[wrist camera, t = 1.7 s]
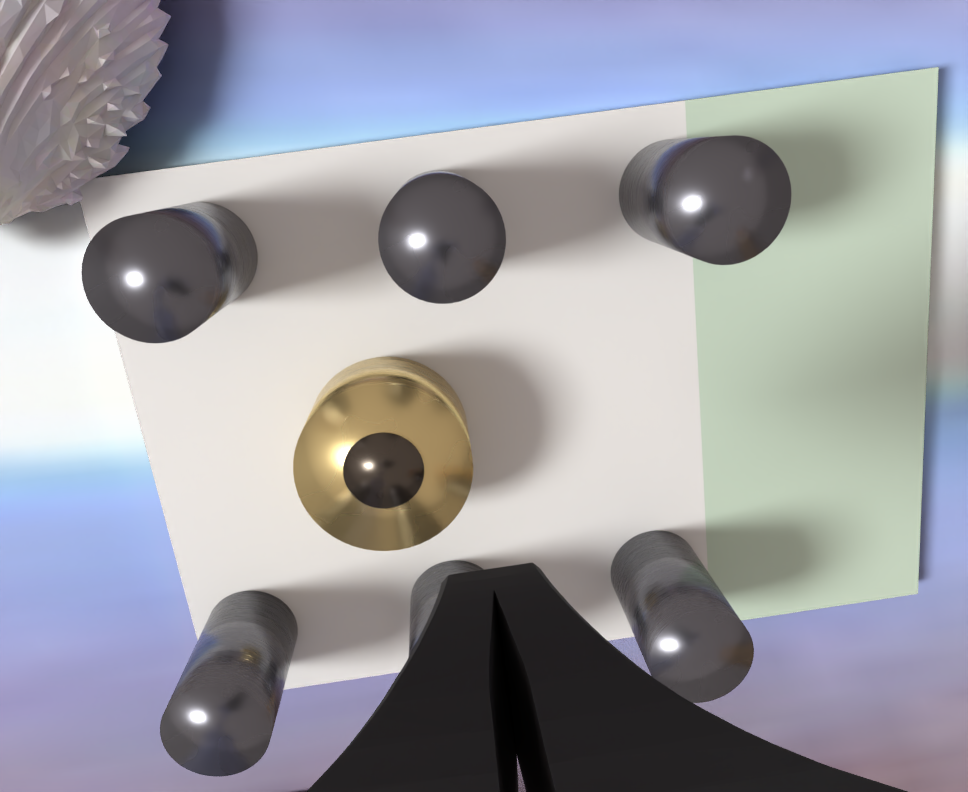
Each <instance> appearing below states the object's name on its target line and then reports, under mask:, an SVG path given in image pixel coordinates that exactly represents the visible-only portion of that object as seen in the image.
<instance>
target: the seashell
mask: <svg viewBox="0 0 968 792" xmlns="http://www.w3.org/2000/svg"><path fill="white" fill-rule="evenodd" d="M160 1H161V0H0V225H2V224H8V223H11V222H12V221H13V220H14V219H15V218H17V217H20V216H22V215H24V214H26V213H29V212H31V211H34V212H44V211H46V210H49V209H51V208H53V207H56V206H59V205H63V204H68V205H70V206H71V205H73V204H75V203H77V202H79V201H80V200H82V199H83V196H82V194H81V191H80V188H79V187H80V186H82V185H83V184H85V183H87V182H88V181H90V180H92V179H94V178H95V177H97V176H99V175H101V174H102V173H104V172H106V171H108V170H109V169H111V168H113V167H115V166H116V165H117V164H118V162H119V161H120V160H121V159H122V158H123V157H124V156H125V154H126V153H127V152H128V150H129V148H130V147H127V146H123V145H120V144H118V143H119V141H120V140H121V138H122V136H127V134H126V132H125V131H127V130H128V129H130V128H131V127H133V126H134V125H136V124H138V123H139V122H141V121H142V120H144V119H145V117H146V115H147V114H148V112H149V110H150V108H151V107H150V106H148V105H147V104H146V103H145V102H143V100H144V99H145V97H146V96H147V95H148V93H149V92H150V91H151V89H152V88H153V87H154V85H155V84H156V83H157V81H158V80H159V79H160V78H161V76H162V75H161V73H160V72H159V70H158V68H157V66H158V65H159V63H160V61H161V60H162V58H163V56H164V54H165V52H166V50H167V47H168V45H169V44H167V43H165V42H163V41H162V40H160V39H159V38H160V36H161V34H162V33H163V31H164V29H165V27H166V25H167V23H168V21H169V20H170V18H171V16H170V15H169V14H167V13H165V12H164V11H162V10H160V9H159V8H158V6H159V3H160Z"/></svg>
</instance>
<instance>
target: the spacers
mask: <svg viewBox="0 0 968 792" xmlns="http://www.w3.org/2000/svg"><path fill="white" fill-rule="evenodd" d="M791 194H792V193H791V183H790V178H789V175H788V172H787V169H786V167H785V165H784V163H783V162H782V160H781V159H780V157H779V156H778V155H777V154H776V153H775V152H774V150H773V149H771V148H770V147H769V146H767V145H766V144H764V143H763V142H761V141H759V140H756V139H754V138H751V137H746V136H739V135H732V136H715V137H699V138H682V139H666V140H661V141H657V142H654V143H652V144H650V145H648V146H646V147H645V148H643V149H642V150H640V151H639V152H638V153H637V154H636V155H635V156H634V157H633V158H632V159H631V161H630V162H629V163H628V165H627V167H626V169H625V170H624V173H623V175H622V178H621V182H620V187H619V203H620V208H621V211H622V214H623V216H624V219H625V220H626V222H627V224H628V225H629V226H630V227H631V229H632V230H633V231H635V232H636V233H637V234H638V235H640V236H641V237H643V238H645V239H647V240H649V241H652V242H654V243H657V244H660V245H662V246H665V247H667V248H670V249H673V250H675V251H678V252H680V253H683V254H685V255H688V256H691V257H693V258H696V259H698V260H701V261H704V262H707V263H710V264H715V265H733V264H737V263H741V262H744V261H747V260H749V259H751V258H753V257H755V256H757V255H758V254H760V253H761V252H763V251H764V250H765V249H766V248H768V247H769V246H770V245H771V244H772V242H773V241H774V240H775V239H776V238H777V236H778V235H779V234H780V232H781V230H782V228H783V227H784V225H785V222H786V220H787V217H788V214H789V211H790V205H791ZM378 244H379V251H380V256H381V259H382V262H383V265H384V267H385V269H386V270H387V272H388V274H389V275H390V277H391V278H392V280H393V281H394V282H395V283H396V284H397V285H398V286H399V287H400V288H401V289H402V290H404V291H405V292H406V293H408V294H410V295H411V296H413V297H415V298H417V299H419V300H422V301H425V302H430V303H435V304H449V303H455V302H460V301H463V300H466V299H468V298H470V297H472V296H474V295H476V294H477V293H479V292H480V291H481V290H483V289H484V288H485V287H486V286H487V285H488V284H489V283H490V282H491V281H492V279H493V278H494V277H495V275H496V274H497V272H498V270H499V268H500V266H501V264H502V261H503V258H504V253H505V248H506V231H505V226H504V222H503V219H502V216H501V213H500V211H499V209H498V207H497V206H496V204H495V203H494V201H493V200H492V199H491V197H490V196H489V195H488V194H487V193H486V192H485V191H484V190H483V189H482V188H480V187H479V186H477V185H476V184H474V183H473V182H471V181H469V180H468V179H466V178H465V177H463V176H461V175H459V174H456V173H453V172H449V171H443V170H433V171H427V172H423V173H421V174H418V175H416V176H414V177H412V178H411V179H409V180H408V181H407V182H406V183H404V184H403V185H402V186H401V188H400V189H399V190H398V191H397V193H396V194H395V195H394V196H393V198H392V199H391V200H390V202H389V204H388V205H387V207H386V209H385V211H384V213H383V215H382V218H381V222H380V226H379V232H378ZM257 264H258V253H257V247H256V243H255V240H254V238H253V235H252V233H251V231H250V230H249V228H248V227H247V225H246V224H245V223H244V222H243V221H242V220H241V219H240V217H238V216H237V215H236V214H235V213H233V212H232V211H230V210H229V209H227V208H225V207H223V206H220V205H217V204H214V203H209V202H192V203H187V204H182V205H178V206H173V207H168V208H163V209H158V210H154V211H149V212H144V213H139V214H134V215H130V216H125V217H122V218H119V219H116V220H114V221H112V222H110V223H108V224H107V225H106V226H104V227H103V228H102V229H100V230H99V231H98V232H97V233H96V234H95V236H94V237H93V238H92V240H91V241H90V243H89V245H88V247H87V249H86V252H85V254H84V258H83V263H82V281H83V286H84V290H85V293H86V296H87V299H88V301H89V303H90V305H91V306H92V308H93V309H94V311H95V312H96V314H97V315H98V316H99V317H100V318H101V320H102V321H103V322H105V323H106V324H107V325H108V326H109V327H110V328H112V329H113V330H114V331H116V332H118V333H119V334H121V335H123V336H125V337H127V338H130V339H132V340H136V341H139V342H145V343H166V342H171V341H175V340H178V339H181V338H183V337H185V336H187V335H188V334H190V333H191V332H193V331H194V330H195V329H197V328H198V327H199V326H201V325H202V324H203V323H205V322H206V321H207V320H208V319H210V318H211V317H212V316H214V315H215V314H216V313H218V312H219V311H220V310H222V309H223V308H224V307H226V306H227V305H228V304H229V303H231V302H232V301H233V300H235V299H236V298H237V297H239V296H240V295H241V294H242V293H243V292H244V291H245V290H246V289H247V288H248V287H249V286H250V284H251V282H252V281H253V278H254V276H255V273H256V270H257ZM478 570H484V569H483V568H481V567H480V566H478V565H476V564H473V563H471V562H467V561H461V560H451V561H445V562H441V563H438V564H436V565H434V566H432V567H430V568H429V569H427V570H426V571H425V572H423V573H422V574H421V576H420V577H419V578H418V579H417V581H416V582H415V584H414V586H413V589H412V592H411V600H410V629H409V656H410V654H411V652H412V650H413V648H414V646H415V644H416V642H417V641H418V639H419V637H420V635H421V633H422V631H423V629H424V627H425V625H426V623H427V620H428V618H429V616H430V614H431V611H432V609H433V607H434V604H435V602H436V599H437V596H438V594H439V591H440V587H441V583H442V582H443V581H444V580H445V578H446V577H447V576H448V575H451V574H458V573H465V572H471V571H478ZM610 572H611V582H612V585H613V588H614V590H615V592H616V595H617V597H618V599H619V602H620V604H621V606H622V608H623V611H624V613H625V615H626V618H627V620H628V622H629V625H630V627H631V629H632V632H633V634H634V636H635V639H636V641H637V643H638V645H639V648H640V650H641V652H642V655H643V657H644V659H645V662H646V664H647V666H648V669H649V671H650V673H651V675H652V677H653V678H654V679H656V680H657V681H659V682H660V683H662V684H663V685H665V686H666V687H668V688H669V689H671V690H672V691H674V692H675V693H677V694H678V695H680V696H682V697H683V698H685V699H687V700H688V701H690V702H692V703H700V702H707V701H711V700H714V699H717V698H720V697H722V696H724V695H726V694H727V693H729V692H730V691H732V690H733V689H735V688H736V687H737V686H738V685H739V684H740V683H741V682H742V680H743V679H744V678H745V676H746V675H747V673H748V671H749V669H750V667H751V664H752V661H753V654H754V648H753V642H752V638H751V636H750V634H749V632H748V631H747V629H746V627H745V626H744V625H743V623H742V622H741V620H740V619H739V617H738V616H737V614H736V613H735V611H734V610H733V608H732V607H731V605H730V604H729V602H728V601H727V599H726V598H725V596H724V595H723V593H722V592H721V590H720V589H719V587H718V586H717V585H716V583H715V582H714V580H713V579H712V577H711V576H710V574H709V573H708V571H707V570H706V568H705V567H704V565H703V564H702V562H701V561H700V559H699V558H698V556H697V555H696V553H695V552H694V550H693V549H692V547H691V546H690V545H689V544H688V542H687V541H686V540H684V539H683V538H682V537H680V536H679V535H677V534H674V533H671V532H668V531H660V530H655V531H648V532H644V533H641V534H638V535H636V536H634V537H633V538H631V539H629V540H628V541H627V542H626V543H624V544H623V545H622V547H621V548H620V549H619V550H618V552H617V553H616V555H615V557H614V559H613V561H612V565H611V571H610ZM297 636H298V626H297V621H296V618H295V616H294V614H293V612H292V611H291V609H290V608H289V607H288V606H287V605H286V604H285V603H284V602H283V601H282V600H280V599H279V598H277V597H275V596H273V595H271V594H268V593H265V592H261V591H250V590H249V591H241V592H237V593H234V594H231V595H229V596H227V597H225V598H224V599H222V600H221V601H220V602H219V603H218V604H217V605H216V606H215V607H214V608H213V610H212V612H211V614H210V616H209V618H208V620H207V622H206V624H205V626H204V629H203V631H202V633H201V635H200V637H199V639H198V641H197V644H196V646H195V648H194V650H193V652H192V654H191V656H190V658H189V661H188V663H187V665H186V667H185V669H184V671H183V673H182V676H181V678H180V680H179V682H178V684H177V686H176V688H175V691H174V693H173V695H172V697H171V699H170V701H169V703H168V705H167V708H166V710H165V712H164V714H163V716H162V720H161V724H160V735H161V740H162V742H163V745H164V747H165V749H166V751H167V752H168V754H169V755H170V756H171V757H172V758H173V759H174V760H175V761H176V762H177V763H178V764H180V765H181V766H183V767H184V768H186V769H188V770H190V771H192V772H195V773H198V774H202V775H207V776H228V775H233V774H236V773H239V772H242V771H244V770H246V769H248V768H250V767H251V766H253V765H254V764H255V763H257V762H258V761H259V760H260V759H261V757H262V756H263V755H264V753H265V752H266V750H267V748H268V745H269V742H270V738H271V735H272V731H273V727H274V723H275V720H276V716H277V712H278V708H279V705H280V701H281V697H282V693H283V689H284V686H285V682H286V678H287V674H288V671H289V667H290V663H291V659H292V656H293V652H294V648H295V644H296V641H297Z"/></svg>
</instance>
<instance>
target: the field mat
mask: <svg viewBox="0 0 968 792" xmlns="http://www.w3.org/2000/svg"><path fill="white" fill-rule="evenodd" d="M938 68H939V67H936V68H928V69H921V70H913V71H905V72H898V73H890V74H883V75H875V76H867V77H860V78H852V79H845V80H837V81H829V82H822V83H814V84H807V85H799V86H791V87H784V88H776V89H769V90H761V91H753V92H746V93H738V94H731V95H723V96H715V97H708V98H700V99H693V100H685V101H677V102H670V103H662V104H654V105H647V106H639V107H632V108H624V109H616V110H609V111H601V112H594V113H586V114H578V115H571V116H563V117H556V118H548V119H540V120H533V121H525V122H518V123H510V124H502V125H495V126H487V127H480V128H472V129H464V130H457V131H449V132H442V133H434V134H426V135H419V136H411V137H404V138H396V139H388V140H381V141H373V142H365V143H358V144H350V145H343V146H335V147H327V148H320V149H312V150H305V151H297V152H289V153H282V154H274V155H267V156H259V157H251V158H244V159H236V160H229V161H221V162H213V163H206V164H198V165H191V166H183V167H175V168H168V169H160V170H153V171H145V172H137V173H130V174H122V175H114V176H107V177H99V178H94V179H92V180H90V181H88V182H87V183H85V184H83V185H82V186H80V187H79V188H80V191H81V194H82V196H83V199H82V200H80V204H81V208H82V212H83V215H84V219H85V223H86V227H87V230H88V234H89V238H90V241H91V240H92V238H93V237H94V236H95V234H96V233H97V232H98V231H99V230H100V229H102V228H103V227H104V226H106V225H107V224H108V223H110V222H112V221H114V220H116V219H119V218H122V217H125V216H130V215H134V214H139V213H144V212H149V211H154V210H158V209H163V208H168V207H173V206H178V205H182V204H187V203H192V202H209V203H214V204H217V205H220V206H223V207H225V208H227V209H229V210H230V211H232V212H233V213H235V214H236V215H237V216H238V217H240V219H241V220H242V221H243V222H244V223H245V224H246V225H247V227H248V228H249V230H250V231H251V233H252V235H253V238H254V240H255V243H256V247H257V253H258V264H257V270H256V273H255V276H254V278H253V281H252V282H251V284H250V286H249V287H248V288H247V289H246V290H245V291H244V292H243V293H242V294H241V295H240V296H239V297H237V298H236V299H235V300H233V301H232V302H231V303H229V304H228V305H227V306H226V307H224V308H223V309H222V310H220V311H219V312H218V313H216V314H215V315H214V316H212V317H211V318H210V319H208V320H207V321H206V322H205V323H203V324H202V325H201V326H199V327H198V328H197V329H195V330H194V331H193V332H191V333H190V334H188V335H187V336H185V337H183V338H181V339H178V340H175V341H171V342H166V343H145V342H139V341H136V340H132V339H130V338H127V337H125V336H123V335H121V334H119V333H118V332H116V331H115V334H116V338H117V342H118V346H119V349H120V353H121V357H122V360H123V364H124V368H125V372H126V375H127V379H128V383H129V386H130V390H131V394H132V398H133V401H134V405H135V409H136V412H137V416H138V420H139V424H140V427H141V431H142V435H143V439H144V442H145V446H146V450H147V453H148V457H149V461H150V465H151V468H152V472H153V476H154V479H155V483H156V487H157V491H158V494H159V498H160V502H161V505H162V509H163V513H164V517H165V520H166V524H167V528H168V531H169V535H170V539H171V543H172V546H173V550H174V554H175V558H176V561H177V565H178V569H179V572H180V576H181V580H182V584H183V587H184V591H185V595H186V598H187V602H188V606H189V610H190V613H191V617H192V621H193V624H194V628H195V632H196V636H197V639H199V637H200V635H201V633H202V631H203V629H204V626H205V624H206V622H207V620H208V618H209V616H210V614H211V612H212V610H213V608H214V607H215V606H216V605H217V604H218V603H219V602H220V601H221V600H222V599H224V598H225V597H227V596H229V595H231V594H234V593H237V592H241V591H249V590H250V591H261V592H265V593H268V594H271V595H273V596H275V597H277V598H279V599H280V600H282V601H283V602H284V603H285V604H286V605H287V606H288V607H289V608H290V609H291V611H292V612H293V614H294V616H295V618H296V621H297V626H298V636H297V641H296V644H295V648H294V652H293V656H292V659H291V663H290V667H289V671H288V674H287V678H286V682H285V686H284V689H283V690H285V689H292V688H298V687H305V686H311V685H318V684H325V683H331V682H338V681H344V680H351V679H358V678H364V677H371V676H378V675H384V674H391V673H397V672H400V671H401V670H402V668H403V666H404V665H405V663H406V661H407V660H408V658H409V629H410V600H411V592H412V589H413V586H414V584H415V582H416V581H417V579H418V578H419V577H420V576H421V574H422V573H423V572H425V571H426V570H427V569H429V568H430V567H432V566H434V565H436V564H438V563H441V562H445V561H451V560H461V561H467V562H471V563H473V564H476V565H478V566H480V567H481V568H483V569H484V570H485V569H492V568H498V567H505V566H512V565H519V564H525V563H532V562H533V563H534V564H535V565H536V566H538V567H539V568H540V569H541V570H542V571H543V573H544V574H545V576H546V577H547V578H548V579H549V581H550V582H551V583H552V584H553V586H554V587H555V588H556V589H557V590H558V592H559V593H560V594H561V595H562V596H563V597H564V598H565V599H566V600H567V602H568V603H569V604H570V605H571V606H572V607H573V608H574V609H575V610H576V611H577V612H578V613H579V614H580V615H581V616H582V617H583V618H584V619H585V620H586V621H587V622H588V623H589V624H590V625H591V626H592V627H593V628H594V629H595V630H596V631H597V632H599V633H600V634H601V635H602V636H603V637H604V638H605V639H606V640H607V641H609V640H615V639H622V638H629V637H635V636H634V634H633V632H632V629H631V627H630V625H629V622H628V620H627V618H626V615H625V613H624V611H623V608H622V606H621V604H620V602H619V599H618V597H617V595H616V592H615V590H614V588H613V585H612V582H611V572H610V571H611V565H612V561H613V559H614V557H615V555H616V553H617V552H618V550H619V549H620V548H621V547H622V545H623V544H624V543H626V542H627V541H628V540H629V539H631V538H633V537H634V536H636V535H638V534H641V533H644V532H648V531H655V530H660V531H668V532H671V533H674V534H677V535H679V536H680V537H682V538H683V539H684V540H686V541H687V542H688V544H689V545H690V546H691V547H692V549H693V550H694V552H695V553H696V555H697V556H698V558H699V559H700V561H701V562H702V564H703V565H704V567H705V568H706V570H707V571H708V573H709V574H710V576H711V577H712V579H713V580H714V582H715V583H716V585H717V586H718V587H719V589H720V590H721V592H722V593H723V595H724V596H725V598H726V599H727V601H728V602H729V604H730V605H731V607H732V608H733V610H734V611H735V613H736V614H737V616H738V617H739V619H740V620H748V619H754V618H761V617H767V616H774V615H781V614H787V613H794V612H800V611H807V610H814V609H820V608H827V607H833V606H840V605H847V604H853V603H860V602H866V601H873V600H880V599H886V598H893V597H899V596H906V595H913V594H918V577H919V552H920V526H921V501H922V476H923V450H924V425H925V399H926V374H927V348H928V323H929V297H930V272H931V247H932V221H933V196H934V170H935V145H936V119H937V94H938ZM732 135H739V136H746V137H751V138H754V139H756V140H759V141H761V142H763V143H764V144H766V145H767V146H769V147H770V148H771V149H773V150H774V152H775V153H776V154H777V155H778V156H779V157H780V159H781V160H782V162H783V163H784V165H785V167H786V169H787V172H788V175H789V178H790V183H791V193H792V194H791V205H790V211H789V214H788V217H787V220H786V222H785V225H784V227H783V228H782V230H781V232H780V234H779V235H778V236H777V238H776V239H775V240H774V241H773V242H772V244H771V245H770V246H769V247H768V248H766V249H765V250H764V251H763V252H761V253H760V254H758V255H757V256H755V257H753V258H751V259H749V260H747V261H744V262H741V263H737V264H733V265H715V264H710V263H707V262H704V261H701V260H698V259H696V258H693V257H691V256H688V255H685V254H683V253H680V252H678V251H675V250H673V249H670V248H667V247H665V246H662V245H660V244H657V243H654V242H652V241H649V240H647V239H645V238H643V237H641V236H640V235H638V234H637V233H636V232H635V231H633V230H632V229H631V227H630V226H629V225H628V224H627V222H626V220H625V219H624V216H623V214H622V211H621V208H620V203H619V187H620V182H621V178H622V175H623V173H624V170H625V169H626V167H627V165H628V163H629V162H630V161H631V159H632V158H633V157H634V156H635V155H636V154H637V153H638V152H639V151H640V150H642V149H643V148H645V147H646V146H648V145H650V144H652V143H654V142H657V141H661V140H666V139H682V138H699V137H715V136H732ZM433 170H443V171H449V172H453V173H456V174H459V175H461V176H463V177H465V178H466V179H468V180H469V181H471V182H473V183H474V184H476V185H477V186H479V187H480V188H482V189H483V190H484V191H485V192H486V193H487V194H488V195H489V196H490V197H491V199H492V200H493V201H494V203H495V204H496V206H497V207H498V209H499V211H500V213H501V216H502V219H503V222H504V226H505V231H506V248H505V253H504V258H503V261H502V264H501V266H500V268H499V270H498V272H497V274H496V275H495V277H494V278H493V279H492V281H491V282H490V283H489V284H488V285H487V286H486V287H485V288H484V289H483V290H481V291H480V292H479V293H477V294H476V295H474V296H472V297H470V298H468V299H466V300H463V301H460V302H455V303H449V304H435V303H430V302H425V301H422V300H419V299H417V298H415V297H413V296H411V295H410V294H408V293H406V292H405V291H404V290H402V289H401V288H400V287H399V286H398V285H397V284H396V283H395V282H394V281H393V280H392V278H391V277H390V275H389V274H388V272H387V270H386V269H385V267H384V265H383V262H382V259H381V256H380V251H379V244H378V232H379V226H380V222H381V218H382V215H383V213H384V211H385V209H386V207H387V205H388V204H389V202H390V200H391V199H392V198H393V196H394V195H395V194H396V193H397V191H398V190H399V189H400V188H401V186H402V185H403V184H404V183H406V182H407V181H408V180H409V179H411V178H412V177H414V176H416V175H418V174H421V173H423V172H427V171H433ZM375 357H399V358H405V359H409V360H412V361H415V362H418V363H421V364H423V365H425V366H427V367H429V368H430V369H432V370H434V371H435V372H437V373H438V374H439V375H440V376H441V377H443V378H444V379H445V380H446V381H447V382H448V383H449V384H450V386H451V387H452V388H453V390H454V391H455V392H456V394H457V395H458V397H459V399H460V401H461V403H462V406H463V409H464V411H465V415H466V420H467V425H468V432H469V438H470V445H471V451H472V458H473V479H472V484H471V489H470V492H469V495H468V497H467V500H466V502H465V504H464V506H463V508H462V509H461V511H460V512H459V514H458V515H457V517H456V518H455V519H454V520H453V521H452V522H451V523H450V524H449V526H448V527H446V528H445V529H444V530H443V531H442V532H440V533H439V534H438V535H436V536H434V537H433V538H431V539H430V540H428V541H425V542H423V543H421V544H419V545H416V546H413V547H410V548H406V549H401V550H394V551H373V550H367V549H362V548H358V547H354V546H351V545H349V544H346V543H344V542H342V541H340V540H338V539H336V538H335V537H333V536H331V535H330V534H328V533H327V532H326V531H324V530H323V529H322V528H321V527H320V526H319V525H318V524H317V523H316V522H315V521H314V520H313V519H312V518H311V516H310V515H309V514H308V513H307V511H306V509H305V508H304V506H303V504H302V502H301V500H300V498H299V496H298V493H297V490H296V486H295V482H294V475H293V459H294V452H295V448H296V445H297V441H298V439H299V436H300V434H301V432H302V430H303V427H304V425H305V423H306V421H307V418H308V416H309V414H310V412H311V409H312V407H313V405H314V403H315V401H316V398H317V396H318V395H319V393H320V392H321V390H322V389H323V387H324V386H325V385H326V384H327V383H328V381H329V380H330V379H332V378H333V377H334V376H335V375H336V374H337V373H339V372H340V371H342V370H343V369H345V368H346V367H348V366H350V365H352V364H354V363H357V362H360V361H362V360H365V359H370V358H375Z"/></svg>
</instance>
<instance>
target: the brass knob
mask: <svg viewBox="0 0 968 792" xmlns="http://www.w3.org/2000/svg"><path fill="white" fill-rule="evenodd" d="M293 475H294V482H295V486H296V490H297V493H298V496H299V498H300V500H301V502H302V504H303V506H304V508H305V509H306V511H307V513H308V514H309V515H310V516H311V518H312V519H313V520H314V521H315V522H316V523H317V524H318V525H319V526H320V527H321V528H322V529H323V530H324V531H326V532H327V533H328V534H330V535H331V536H333V537H335V538H336V539H338V540H340V541H342V542H344V543H346V544H349V545H351V546H354V547H358V548H362V549H367V550H373V551H394V550H401V549H406V548H410V547H413V546H416V545H419V544H421V543H423V542H425V541H428V540H430V539H431V538H433V537H434V536H436V535H438V534H439V533H440V532H442V531H443V530H444V529H445V528H446V527H448V526H449V524H450V523H451V522H452V521H453V520H454V519H455V518H456V517H457V515H458V514H459V512H460V511H461V509H462V508H463V506H464V504H465V502H466V500H467V497H468V495H469V492H470V489H471V484H472V479H473V458H472V451H471V445H470V438H469V432H468V425H467V420H466V415H465V411H464V409H463V406H462V403H461V401H460V399H459V397H458V395H457V394H456V392H455V391H454V390H453V388H452V387H451V386H450V384H449V383H448V382H447V381H446V380H445V379H444V378H443V377H441V376H440V375H439V374H438V373H437V372H435V371H434V370H432V369H430V368H429V367H427V366H425V365H423V364H421V363H418V362H415V361H412V360H409V359H405V358H399V357H375V358H370V359H365V360H362V361H360V362H357V363H354V364H352V365H350V366H348V367H346V368H345V369H343V370H342V371H340V372H339V373H337V374H336V375H335V376H334V377H333V378H332V379H330V380H329V381H328V383H327V384H326V385H325V386H324V387H323V389H322V390H321V392H320V393H319V395H318V396H317V398H316V401H315V403H314V405H313V407H312V409H311V412H310V414H309V416H308V418H307V421H306V423H305V425H304V427H303V430H302V432H301V434H300V436H299V439H298V441H297V445H296V448H295V452H294V459H293Z"/></svg>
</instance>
